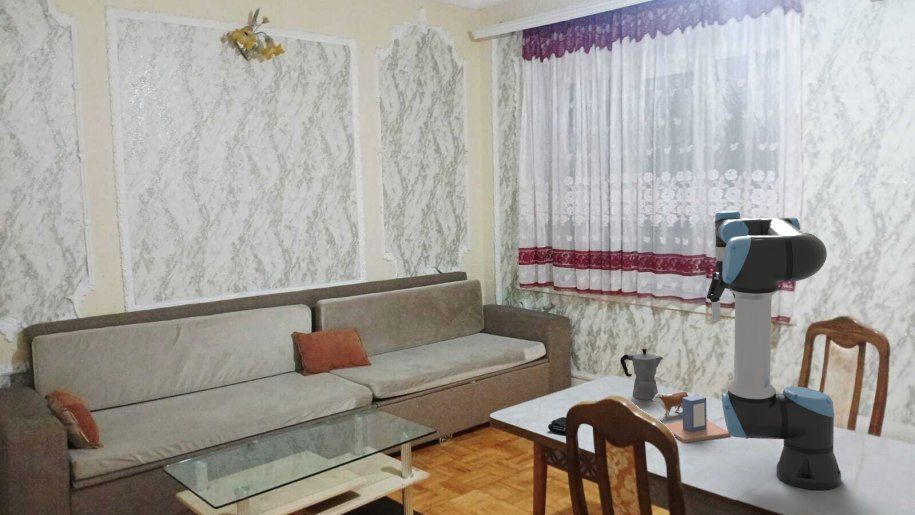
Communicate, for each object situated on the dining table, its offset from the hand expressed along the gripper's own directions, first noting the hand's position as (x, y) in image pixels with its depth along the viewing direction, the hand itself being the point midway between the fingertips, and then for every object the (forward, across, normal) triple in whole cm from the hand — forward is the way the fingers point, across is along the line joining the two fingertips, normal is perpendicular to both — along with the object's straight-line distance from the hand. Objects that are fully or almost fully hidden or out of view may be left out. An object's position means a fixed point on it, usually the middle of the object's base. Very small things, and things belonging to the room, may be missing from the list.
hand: (728, 325), depth 224 cm
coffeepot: (+32, +34, +13) cm, 48 cm away
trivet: (+32, -5, +16) cm, 36 cm away
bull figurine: (+32, +12, +14) cm, 37 cm away
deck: (+31, -5, +16) cm, 35 cm away
